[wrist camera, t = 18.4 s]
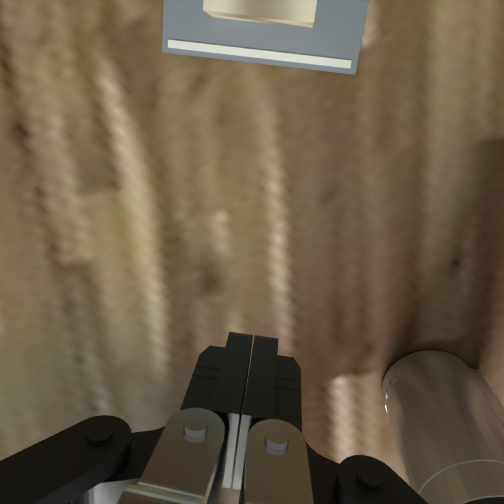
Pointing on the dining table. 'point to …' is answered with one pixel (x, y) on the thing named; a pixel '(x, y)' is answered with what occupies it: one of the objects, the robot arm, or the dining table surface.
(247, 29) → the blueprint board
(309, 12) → the base block
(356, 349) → the dining table surface
